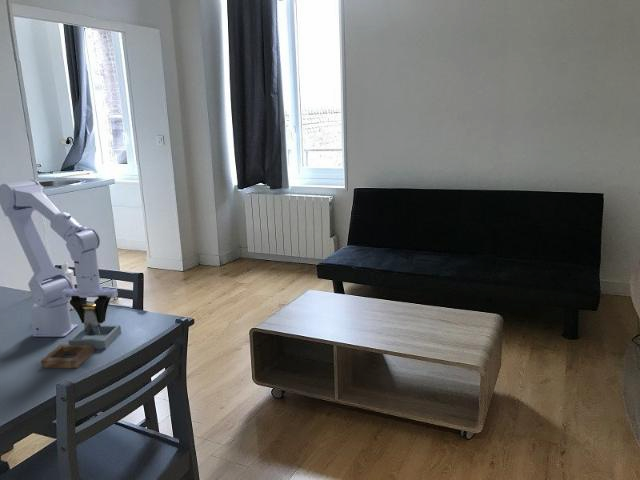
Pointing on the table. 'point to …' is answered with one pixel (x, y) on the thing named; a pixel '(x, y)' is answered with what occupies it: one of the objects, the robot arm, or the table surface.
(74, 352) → the socket block
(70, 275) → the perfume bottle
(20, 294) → the table surface
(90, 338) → the tray
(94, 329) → the jar with gold lid
